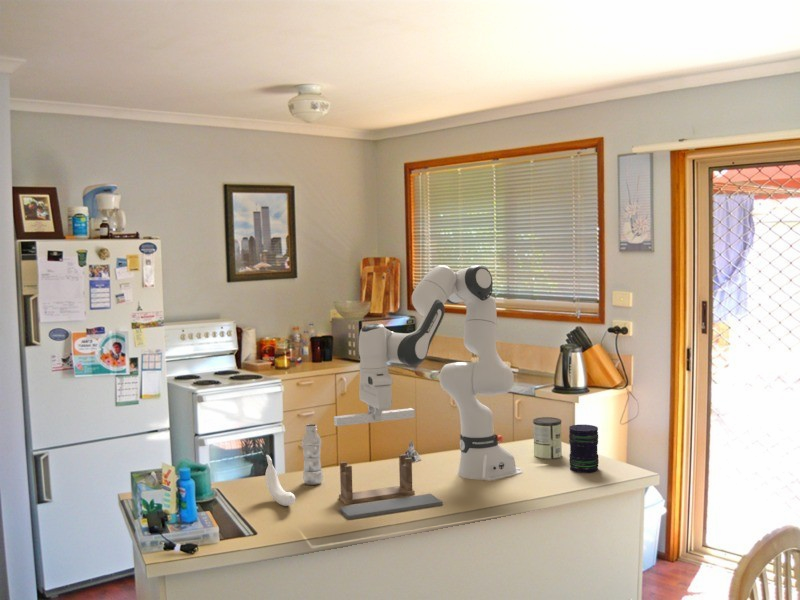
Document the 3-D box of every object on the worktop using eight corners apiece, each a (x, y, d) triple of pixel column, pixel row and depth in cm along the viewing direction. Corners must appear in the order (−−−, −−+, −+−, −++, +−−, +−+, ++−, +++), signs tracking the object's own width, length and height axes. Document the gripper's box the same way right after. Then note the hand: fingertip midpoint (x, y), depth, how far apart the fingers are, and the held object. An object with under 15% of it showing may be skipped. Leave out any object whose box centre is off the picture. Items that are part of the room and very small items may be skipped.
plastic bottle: (319, 487, 262) (318, 427, 261) (300, 486, 263) (298, 427, 262) (325, 481, 268) (323, 423, 267) (306, 481, 270) (304, 423, 269)
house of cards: (434, 461, 293) (433, 440, 293) (417, 465, 287) (417, 444, 287) (416, 457, 300) (416, 437, 299) (400, 461, 293) (399, 441, 293)
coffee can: (537, 453, 300) (536, 416, 299) (564, 455, 295) (564, 417, 295) (530, 459, 290) (529, 421, 289) (558, 462, 286) (557, 423, 285)
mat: (430, 496, 249) (430, 493, 249) (442, 504, 241) (442, 501, 241) (339, 510, 238) (339, 507, 238) (348, 519, 230) (348, 516, 230)
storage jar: (588, 465, 281) (587, 423, 280) (604, 471, 272) (604, 428, 271) (563, 468, 278) (563, 426, 277) (579, 475, 269) (579, 431, 268)
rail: (411, 415, 256) (411, 408, 256) (414, 417, 253) (414, 409, 253) (334, 424, 246) (333, 416, 246) (336, 426, 243) (336, 418, 243)
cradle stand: (406, 488, 258) (405, 453, 258) (414, 494, 252) (413, 458, 251) (338, 498, 250) (337, 462, 249) (345, 504, 243) (344, 467, 243)
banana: (288, 514, 236) (287, 465, 235) (261, 499, 251) (259, 453, 250) (303, 510, 238) (301, 462, 238) (275, 496, 254) (273, 450, 253)
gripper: (353, 372, 257) (355, 414, 258) (375, 381, 238) (376, 426, 239) (372, 370, 260) (373, 412, 260) (394, 379, 241) (396, 424, 241)
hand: (375, 419), depth 250 cm, fingers closed on rail, 3 cm apart
